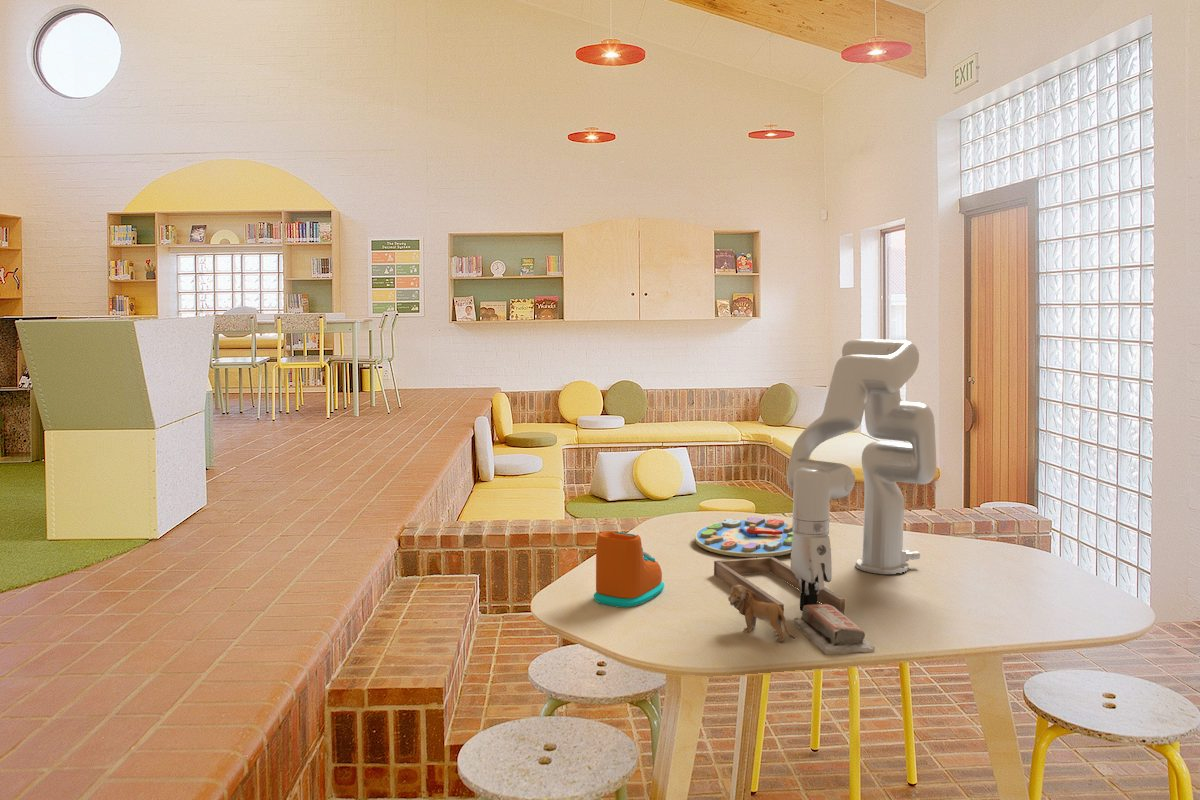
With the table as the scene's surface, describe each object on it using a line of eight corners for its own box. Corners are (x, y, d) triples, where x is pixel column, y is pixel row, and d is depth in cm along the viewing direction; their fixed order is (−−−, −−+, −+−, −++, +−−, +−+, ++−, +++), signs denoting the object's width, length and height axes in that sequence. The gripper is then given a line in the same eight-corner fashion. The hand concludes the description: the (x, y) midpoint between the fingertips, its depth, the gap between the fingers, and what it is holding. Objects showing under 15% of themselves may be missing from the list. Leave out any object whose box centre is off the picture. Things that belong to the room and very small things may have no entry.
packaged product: (792, 602, 204) (838, 600, 206) (792, 625, 205) (838, 623, 206) (826, 631, 187) (876, 629, 188) (825, 656, 187) (875, 654, 189)
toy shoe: (673, 588, 229) (674, 524, 227) (633, 611, 212) (633, 543, 210) (627, 580, 235) (627, 518, 233) (584, 602, 218) (584, 536, 216)
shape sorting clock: (672, 547, 266) (672, 525, 266) (734, 527, 289) (734, 507, 289) (771, 568, 247) (771, 545, 246) (829, 545, 270) (830, 523, 269)
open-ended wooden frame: (772, 570, 244) (772, 556, 243) (844, 615, 210) (845, 598, 210) (714, 575, 239) (714, 560, 239) (778, 621, 206) (778, 604, 206)
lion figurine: (723, 629, 201) (724, 586, 200) (736, 622, 205) (737, 580, 204) (789, 645, 192) (790, 600, 191) (801, 637, 196) (803, 593, 195)
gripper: (845, 533, 201) (842, 621, 203) (809, 517, 216) (807, 599, 218) (811, 535, 199) (809, 624, 201) (778, 519, 214) (776, 602, 216)
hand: (808, 611), depth 210 cm, fingers closed
